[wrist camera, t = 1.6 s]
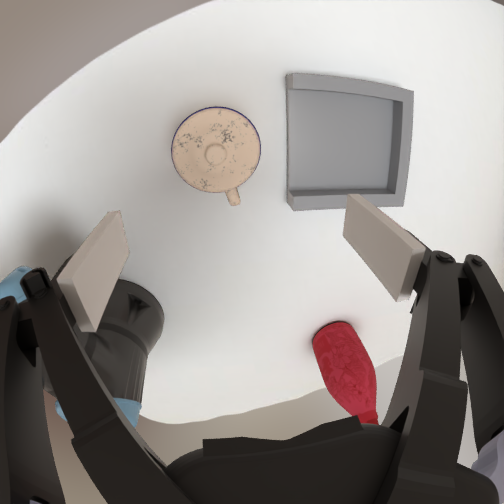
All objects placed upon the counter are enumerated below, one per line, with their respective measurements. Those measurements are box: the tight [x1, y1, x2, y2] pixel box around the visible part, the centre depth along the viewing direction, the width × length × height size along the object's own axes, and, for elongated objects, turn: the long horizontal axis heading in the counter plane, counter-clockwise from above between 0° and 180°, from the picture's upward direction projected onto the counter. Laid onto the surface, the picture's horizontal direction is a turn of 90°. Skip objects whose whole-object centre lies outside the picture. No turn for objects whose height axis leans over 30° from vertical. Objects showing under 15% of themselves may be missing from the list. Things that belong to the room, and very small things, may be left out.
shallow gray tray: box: [286, 73, 414, 211], centre depth 34 cm, size 18×18×4 cm
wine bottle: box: [313, 322, 379, 425], centre depth 42 cm, size 10×10×30 cm
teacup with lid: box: [171, 107, 261, 206], centre depth 29 cm, size 12×9×12 cm
